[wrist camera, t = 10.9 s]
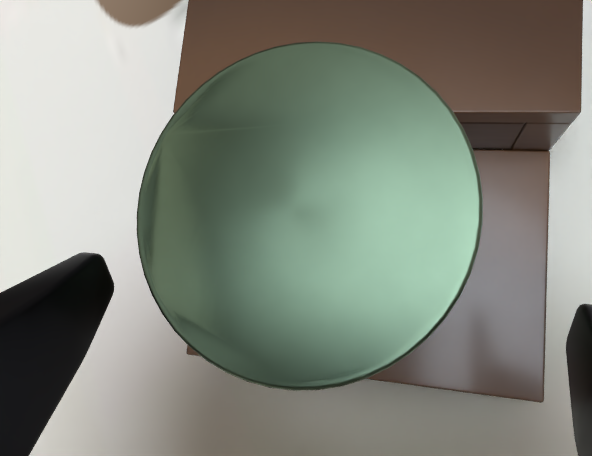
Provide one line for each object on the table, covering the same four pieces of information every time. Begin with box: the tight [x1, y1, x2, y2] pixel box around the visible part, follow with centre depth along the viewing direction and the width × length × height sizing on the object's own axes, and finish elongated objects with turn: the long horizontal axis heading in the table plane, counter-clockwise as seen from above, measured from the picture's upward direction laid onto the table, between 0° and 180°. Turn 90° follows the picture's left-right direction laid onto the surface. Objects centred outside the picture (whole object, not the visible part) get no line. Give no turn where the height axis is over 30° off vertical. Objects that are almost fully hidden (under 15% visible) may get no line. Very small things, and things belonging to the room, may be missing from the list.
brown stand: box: [173, 0, 583, 403], centre depth 17 cm, size 16×12×5 cm
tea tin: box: [137, 42, 483, 391], centre depth 13 cm, size 6×6×9 cm
